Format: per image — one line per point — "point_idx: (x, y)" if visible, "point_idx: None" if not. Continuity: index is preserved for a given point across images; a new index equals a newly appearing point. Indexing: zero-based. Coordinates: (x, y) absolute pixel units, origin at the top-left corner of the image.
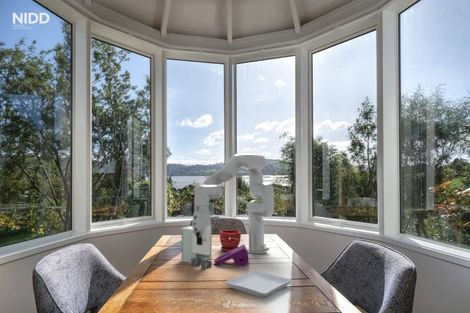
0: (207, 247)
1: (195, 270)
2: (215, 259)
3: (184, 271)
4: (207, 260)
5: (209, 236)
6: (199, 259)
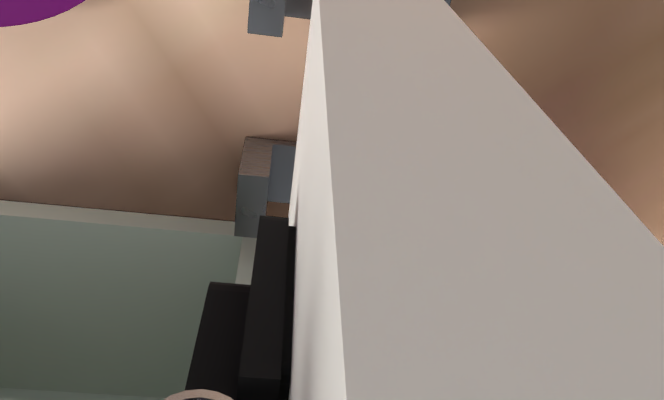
0: (443, 19)
1: (523, 51)
2: (30, 3)
3: (608, 151)
4: (270, 30)
5: (383, 144)
6: (267, 188)
